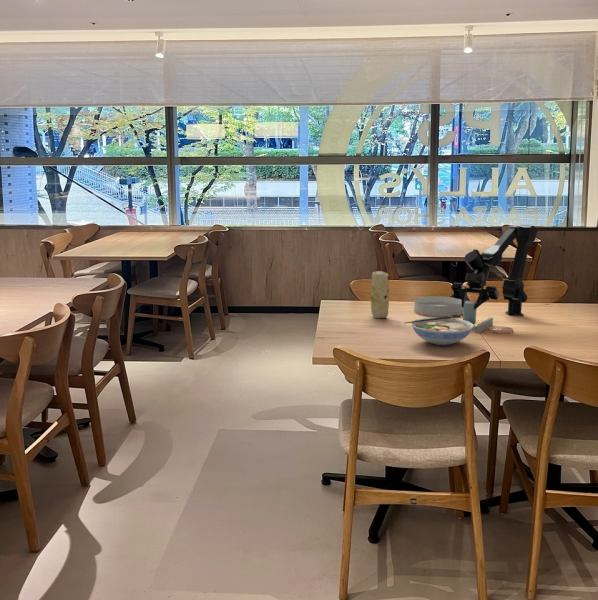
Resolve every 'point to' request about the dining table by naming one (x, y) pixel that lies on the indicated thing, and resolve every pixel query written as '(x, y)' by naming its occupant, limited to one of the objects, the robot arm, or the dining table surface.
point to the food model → (379, 294)
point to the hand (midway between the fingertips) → (468, 307)
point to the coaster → (500, 329)
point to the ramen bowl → (442, 329)
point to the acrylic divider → (484, 325)
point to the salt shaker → (469, 311)
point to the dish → (438, 306)
